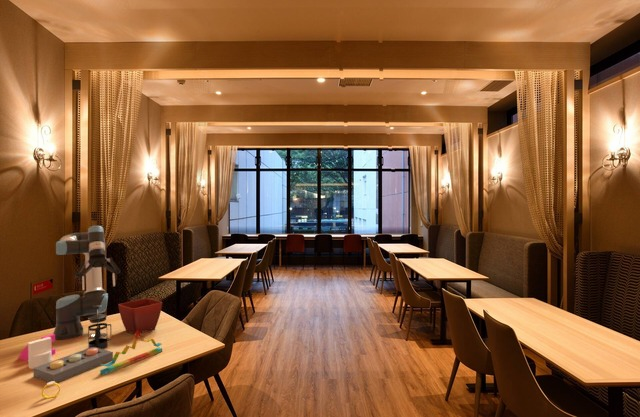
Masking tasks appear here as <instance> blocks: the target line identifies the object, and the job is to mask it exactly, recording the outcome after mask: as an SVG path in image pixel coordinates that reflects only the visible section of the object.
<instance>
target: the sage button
mask: <svg viewBox="0 0 640 417" xmlns="http://www.w3.org/2000/svg"><path fill="white" fill-rule="evenodd" d="M73 354H74V353H73ZM70 355H71V356H69V355H68V356H69V362H70V363H74V362H77V361H80V360H81V354H74V355H72V354H70Z"/></svg>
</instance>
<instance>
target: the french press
mask: <svg viewBox="0 0 640 417" xmlns="http://www.w3.org/2000/svg"><path fill="white" fill-rule="evenodd" d="M101 306H102V305H97V306H94V307H93V308H97V314H93V315H92V316H89V317H88V318H87V320H88V321H89V323H91V325H89V326H87V331H88V332H87V337H88V339H87V344H88V346H87V349H89V348H91V347H96V348H100V349H103V350H105V348H108V346H109V344H108V342H110V341H112V338H109V339H108V338H107V337H108V333H107V332H101V331H102V330H105V329H108V326H110V330H109V331H110V336H112V324H111V323H107V322H106V323H105V321H107V317H108V315H107V314H99V313H98V309H99V307H101ZM90 332H94V334H92V335H91V334H90ZM105 337H106V338H105Z"/></svg>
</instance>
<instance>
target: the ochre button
mask: <svg viewBox="0 0 640 417" xmlns="http://www.w3.org/2000/svg"><path fill="white" fill-rule="evenodd" d="M57 360H58V359H57ZM53 361H54V362H51V363H50V369H51V370H56V369H58V368H61V367H64V366H63V360H58V361H55V360H53Z"/></svg>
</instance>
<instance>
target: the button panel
mask: <svg viewBox="0 0 640 417" xmlns="http://www.w3.org/2000/svg"><path fill="white" fill-rule="evenodd" d="M91 348H96V347H91ZM89 349H90V348H89ZM86 350H88V348H86V349H83V350H81V351H78V352H74V353H72V354H69V355H67V356H64V357H61V358H60V357H59V358H58V359H55V360H53V361H52V362H54V361H58V360H63V366H64V367H61V368H58V369H56V370H51V369H50V363H51V362H49V363H46V364H44V365H41V366H38V367H35V368H33V369H32V370H33V378H35V379H38V380H41V381H44V382H47V383H49V382H51V381H55V383H58V384H59V383H60V382H62V381H64V380H67V379H70V378H72V377H74V376H77V375H79V374H82V373H84V372H87V371H90V370H92V369H94V368H97V367H99V366H101V365H100V364H104V365H105V364H106V363H107V364H108V363H110V362H111V361H112V359H113V357H114V351H111V350H106V349H100V348H98V354H95V355H93V356H90V357H89V356H86ZM74 354H81V360H80V361H77V362H74V363H70V362H69V356H71V355H74Z"/></svg>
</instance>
